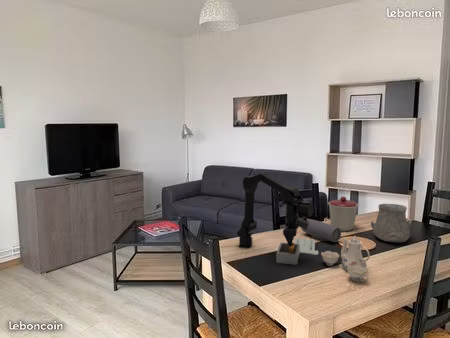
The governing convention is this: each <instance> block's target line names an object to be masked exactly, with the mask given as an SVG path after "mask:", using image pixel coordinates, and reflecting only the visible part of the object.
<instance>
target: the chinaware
mask: <svg viewBox="0 0 450 338" xmlns="http://www.w3.org/2000/svg"><path fill="white" fill-rule="evenodd" d="M342 239H343V245H342V247H341V251H340V254H339V253H338V252H336V251H333V252H332V251H331V250H326V251H324V252H323V251H321V253H320V255H321V256H322V257H321V258H322V260H323V262H324V263H325V264H326V266H328V267H333V266H334V265H335V264H337V262H338V259H339V258H341V261H340V262H341V265H342V267H343V268H344V270H345V271H346V272H347V273H348V275H349V277H350V278H351V279H352V280H353V282H357V283H358V282H368V281H369V276H368V275H367V272H368V268H367V266H368V265H367V262H368V260H369V259H370V258H371V257H370V256H371V253H370V251H369V250H368V248H367V247H366V246H363V245H362V244H363V241H361V240H359V238H357V236H356V235H354V236H353V237H352V238H351V239H348V240H347V238H346V237H345V236H344V237H342ZM363 250H365V251H366V253H367V258H365V259H364V257H363V254H362V251H363ZM365 276H366V280H365V279H364V278H365Z"/></svg>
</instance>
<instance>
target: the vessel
mask: <svg viewBox="0 0 450 338" xmlns="http://www.w3.org/2000/svg"><path fill="white" fill-rule="evenodd" d="M407 209H408V208H407V206H406V205H402V204H396V203H380V204H379V205H378V213H377V217H376V221H375V223H374V221H371V222H370V226H371V229H372V230H373V234H374V235H375V237H377V238H378V239H379V240H381V241H383V242H388V243H399V244H400V243H405V242H406V241H407V240H408V239H410V235H411V231H410V228H411V225H412V220H410V219H409V220H407V217H406V216H407V215H406V213H407Z"/></svg>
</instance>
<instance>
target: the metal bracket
mask: <svg viewBox="0 0 450 338" xmlns="http://www.w3.org/2000/svg"><path fill="white" fill-rule="evenodd" d="M293 241H294V242H293V243H295V244H300V253H301V254H308V255H315V256H316V255H319V250H315V249H316V239H307V238H299V237H298V236H297V238H294V240H293Z"/></svg>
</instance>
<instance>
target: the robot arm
mask: <svg viewBox="0 0 450 338" xmlns="http://www.w3.org/2000/svg"><path fill="white" fill-rule="evenodd" d="M259 183H264V184H265V185H267V186H268V187H270V188H272V189H273V190H276V191H277V192H278V193H280V195H281V197H282V198H284V200H283V201H282V202H281V204H283V205H285V216H284V219H285V225H284V228H283V230H282V235H283V237H284V238H285V240H286V243H288V245H289V247H291V246H292V242H293V241H294V240H295V238H294V237H296V236H297V233H298V229H299V227H300V228H301V229H302V228H303V229H305V230H307V227H308V225H309V222H308V221H307V219H308V218H307V217H312V216H313V213H314V206H313V205H312V202H311V201H304V199H303V197H302V196H301V194H300V190H299V189H298V188H297V187H296V186H295V187H294V186H292V185H288V184H284V183H283V182H281V181H279V180H277V179H275V178H274V177H272V176H271V175H269V174H268V173H267V172H260V173H259V174H256V175H250V176H249V175H248V176H245V177H244V178H243V179H242V187H243V190H244V194H245V197H244V198H245V199H244V214H243V215H244V217H243V219H242V221H241V223H240V224H241V225H240V229H238V230H237V232H236V235H237V237H239V238H238V239H239V240H238V241H239V245H238V248H246V249H251V248H252V245H253V237H252V235H253V234H254V232H255V231H256V229H257V228H258V227H257V223H258V221H257V220H255V219H254V210H255V209H254V208H255V206H254V205H255V192H256V190H257V188H258V185H259ZM299 216H303V217H299Z"/></svg>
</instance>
